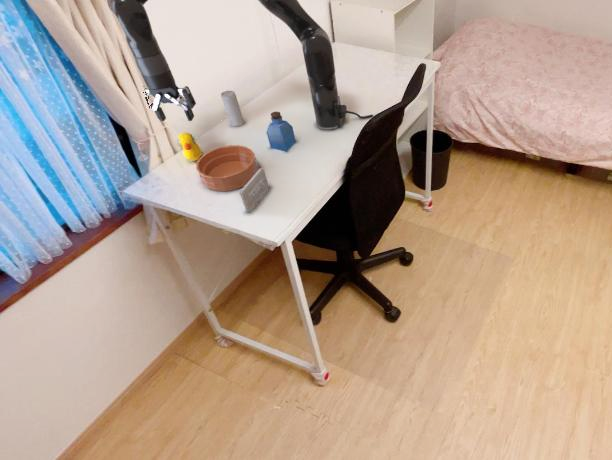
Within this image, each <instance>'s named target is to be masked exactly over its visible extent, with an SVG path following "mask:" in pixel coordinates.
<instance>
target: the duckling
mask: <svg viewBox="0 0 612 460" xmlns="http://www.w3.org/2000/svg"><path fill="white" fill-rule="evenodd" d="M178 143H179V145H180V147H182V154H183V156H184V158H186V159H187V160H188V161H190V162H194V161H195V162H196V161H198V160H199V159H200V158H201V156H203V152H202V149H201V148H200V146H199V144H198V143H197V142H196V139H195V136H194V135H193V134H191V132H182V133H180V134H179V136H178Z"/></svg>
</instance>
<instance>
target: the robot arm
mask: <svg viewBox="0 0 612 460" xmlns="http://www.w3.org/2000/svg"><path fill="white" fill-rule="evenodd" d="M106 1H107V7H108V8H109V10H110V11H111V12H112V14H114V16H115V17H116V18H117V21H118V22H119V24H120V26H121V29H122V30H123V32H124V35H125V40H126V43H127V45H128V48H129V49H130V51H131V53H132V56H133V58H134V61H135V64H136V67H137V69H138V71H139V73H140V75H141V77H142V79H143V82H144V83H145V86H146V88H145V89H144V90H145V93H146V94H145V96H148V99H149V95H151V96H152V97H153V98H154V101H153V103H152V104H151V105H150V106H151V110H152V111H154V113H155V115H156V117H157V119H158V120H159V121H160V122H164V121H165V120H166V119H167V117H166V114H165V112H164V110H163V108H162V107H161V104H174V105H176V106H177V107H180V108H181V109H183V110H184V111H183V112H184V114H185V116H186V119H187V121H188V122H192V121H193V119H194V118H195V114H194V111H193V109H194V107H195V106H196V105H197V102H196V100H195V97H194V96H193V93H192V92H191V90H190V87H189V86H187V85H186V86H184V87H178V85H177V83H176V80H175V78H174V77H175V76H174V75H173V72H172V70H171V68H170V65H169V63H168V61H167V59H166V56H165V55H164V54H163V52H162V50H161V47H160V44H159V42H158V40H157V38H156V36H155V34H154V32H153V28H152V25H151V21H150V18H149V15H148V12H147V10H146V8H145V6H144V5H145V4H146V3H147V2H148V1H149V0H106ZM257 1H258V2H259V3H260V4H261V5H262V6H263V7H264V8H265V9H266V10H267V11H268V12H269V13H270V14H272V15H273V16H274V17H276V18H277V19H279V20H280V21H281V22H283V24H285V25H286V26H287V27H288V28H289V29H290V30H291V32H292V33H293V34H294V36H296V38H297V39H298V41H299V42H300V44H301V48H302V54H303V59H304V65H305V69H306V70H305V71H306V75H307V80H308V85H309V90H310V96H311V101H312V106H313V112H314V117H315V124H316V127H317V128H318V129H320V130H324V131H332V130H336V129H340V128H341V129H342V124H343V120H345V119H346V117H347V114H351V115H355V116H356V117H358V118H359V119H369V118H373V117H374V115H373V114H368V115H364V116H362V115H360V114H359V113H356V112H354V111H349V110H348V107H347V104H341V97H340V95H339V92H338V85H337V78H336V67H335V60H334V59H335V58H334V52H333V46H332V43H331V38H330V36H329V35H328V33H327V32H326V30H325V29H323V28H322V26H320V24H318V23H317V21H316V20H315V19H314V18H312V16H311V15H309V14H308V12H307V11H306V9H304V7H302V5H301V4H300V2H299V0H257ZM143 93H144V92H143ZM145 99H146V101H147V104H148V105H149V103H148V99H147V97H145ZM150 106H149V109H150Z"/></svg>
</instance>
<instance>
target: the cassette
mask: <svg viewBox="0 0 612 460" xmlns="http://www.w3.org/2000/svg"><path fill="white" fill-rule="evenodd" d="M269 189H270V184H269V182H268V177H267V175H266V171H265V169H264V168H263V167H260V168H259V170H258V171H257V172H256V173H255V175H254V176H253V177H252V178H251V179H250V180H249V181H248V183H247V184H246V185H245V186H243V187H241V189H240V191H239V195H240V197H241V200H242V204H243V207H244V209H245V211H246V213H251V212H252V211H253V210H254V209H256V207H257V206H258V205H259V203H260V202H261V201H262V199H263V198H264V197H265V196H266V195H267V193H268V191H269Z"/></svg>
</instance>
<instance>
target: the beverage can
mask: <svg viewBox="0 0 612 460" xmlns="http://www.w3.org/2000/svg"><path fill="white" fill-rule="evenodd" d="M220 97H221V100H222V104H223V106H224V109H225V112H226V115H227V118H228V120H229V123H230V125H231V126H232V127H235V128H236V127H237V128H238V127H241V126H243V125H244V124H245V120H244V117H243V114H242V110H241V107H240V104H239V101H238V97H237V95H236V93H235V91H233V90H226V91H223V92H221V94H220Z"/></svg>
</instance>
